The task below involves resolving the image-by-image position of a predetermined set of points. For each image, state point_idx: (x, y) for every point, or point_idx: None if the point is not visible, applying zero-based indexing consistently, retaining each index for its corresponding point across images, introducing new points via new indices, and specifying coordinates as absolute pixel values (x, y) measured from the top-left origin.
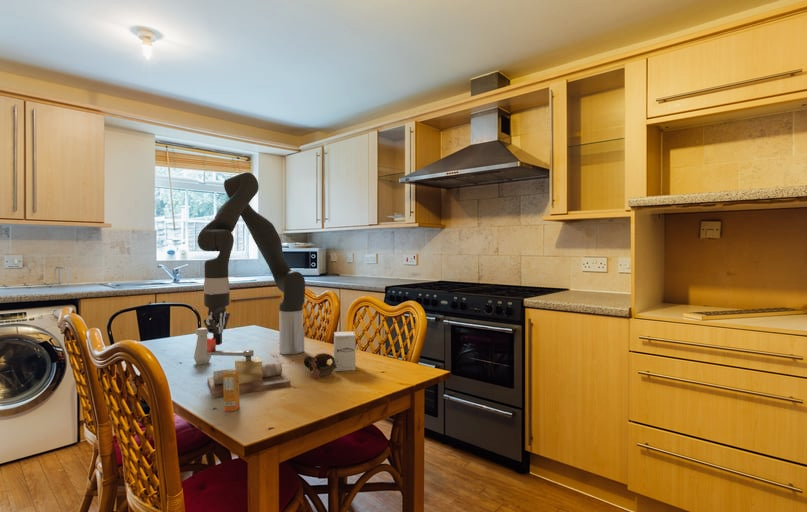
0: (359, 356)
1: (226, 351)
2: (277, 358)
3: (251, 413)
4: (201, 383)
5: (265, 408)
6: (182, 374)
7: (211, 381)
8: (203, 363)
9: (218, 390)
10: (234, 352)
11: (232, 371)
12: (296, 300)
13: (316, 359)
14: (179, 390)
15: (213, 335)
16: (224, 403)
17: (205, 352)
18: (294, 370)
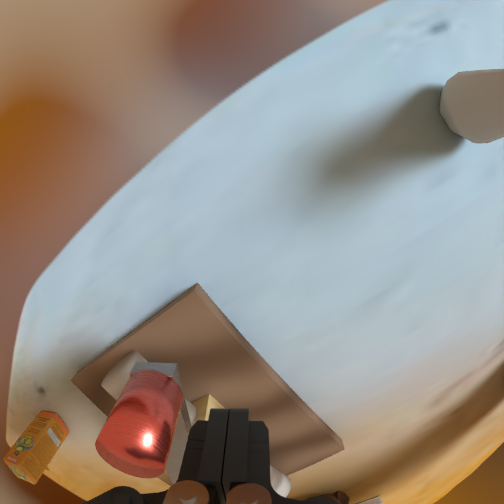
0: (437, 489)
1: (179, 456)
2: (486, 362)
3: (61, 448)
4: (184, 262)
5: (88, 464)
6: (299, 96)
7: (155, 329)
8: (446, 121)
9: (90, 385)
10: (173, 481)
11: (23, 476)
12: None
13: None
14: (96, 224)
15: (180, 474)
16: (33, 421)
17: (480, 125)
18: (356, 460)
